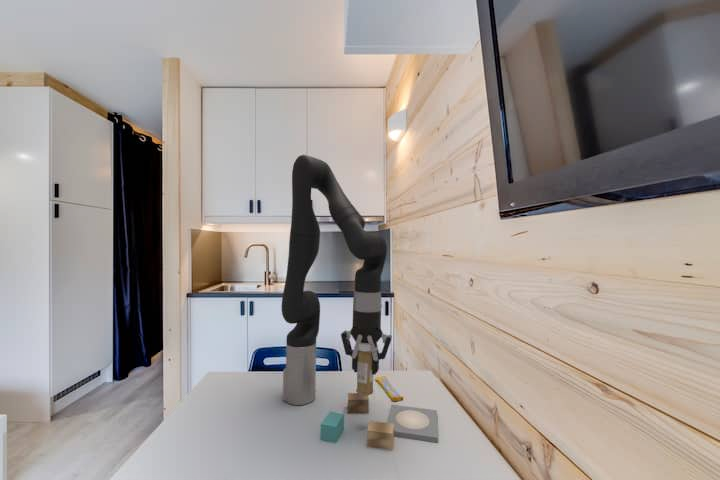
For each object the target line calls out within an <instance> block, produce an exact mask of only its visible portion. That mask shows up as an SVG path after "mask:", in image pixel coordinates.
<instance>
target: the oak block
mask: <svg viewBox="0 0 720 480" xmlns="http://www.w3.org/2000/svg"><path fill="white" fill-rule="evenodd" d="M366 431H367V432H366V433H367V434H366V435H367V437H366V438H367V441H366V442H367V443H366V445H367V446H366V447H368V448H375V449H379V450H380V449H382V450H387V451H388V450H389V451H393V447H394V442H395V436H394V424H390V423H387V422H380V421H374V420H369V424H368V427H367V430H366Z"/></svg>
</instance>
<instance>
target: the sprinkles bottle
mask: <svg viewBox="0 0 720 480" xmlns="http://www.w3.org/2000/svg"><path fill="white" fill-rule="evenodd" d="M372 348H373V347H372ZM372 366H373V355H372V352H371V349H370V345H369V343H362V342H361V343H360V344H359V349H358V360H357V372H356V393H358V394H359V395H362V396H368V397H369V396H371V395H372V394H374V375H372Z"/></svg>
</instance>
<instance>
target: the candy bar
mask: <svg viewBox="0 0 720 480" xmlns="http://www.w3.org/2000/svg"><path fill="white" fill-rule="evenodd" d="M374 379H375V380H376V382H377V384H378V385H379V386H380V388H382V390H383V391H384V393H385V394H386V395H387V396H388V398H389V399H390V400H391V402H398V401H403V400H404V396H401V395H400V394H399V392H397V390H396V389H395V388H394V387H393V386H392V384H391V383H390V382H389V380H388V378H387V376H385V375H384V376H383V375H381V376H376V377H374Z"/></svg>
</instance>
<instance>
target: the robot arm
mask: <svg viewBox="0 0 720 480" xmlns="http://www.w3.org/2000/svg"><path fill="white" fill-rule="evenodd" d="M293 163H294V164H293V165H292V171H291V173H292V174H291V191H292V193H291V195H292V199H291V201H292V202H291V205H292V206H291V221H290V222H291V223H290V230H289V231H290V233H289V241H288V242H289V243H288V259H287V260H288V261H287V267H286V277H285V281H284V286H283V287H284V288H283V293H282V297H281V298H282V299H281V315H282V318H283V319H284V321H285V322H286V323H288V324H291V325H292V324H296V325H295V326H294V327H293V328H292V329H291V330H290V331H288V333H287V335H286V340H285V341H286V342H285V343H286V345H285V347H286V349H285V350H286V353H285V355H286V356H285V357H286V358H285V368H283V372H282V374H283V375H282V401H283V402H286V403H287V404H290V405H293V406H303V405H307V404H311V403H312V402H313V401H314V400H315V399H316V385H317V384H316V379H317V378H316V377H317V375H316V371H317V369H316V367H317V337H318V335H319V331H320V320H321V319H320V318H321V303H320V299H319V297H318V295H317V293H315V291H311V290H304V289H305V283H306V278H307V276H308V273H309V271H310V269H311V267H312V266H313V264H314V262H316V261H315V260H316V258H317V256H318V254H319V249H320V240H321V228H320V225H319V222H318V219H317V216H316V214H315V211H314V208H313V204H312V189H315V190H318V191H319V192H320V193H321V194H322V195H323V197H325V198H326V201H327V203H328V205H327V206H328V211H329V215H330V217H331V219H332V220H333V222H334V223H335V225H336V226H337V227H338V229H339V230H340V231H341V232H342V234H343V238H344V240H345V243H346V245H347V247H348V250H349V252H350V253H351V254H352V255H353V256H354V257H355V258H357V259H359V260H361V261H363V264H362V266H361V267H360V268H359V269H357V270H356V271H355V274H354V290H353V291H354V293H353V298H352V300H353V301H352V326H351V329H350V330H348V331H347V330H343V331H342V333H340V337H341V341H342V345H343V349H344V353H345V355H346V356H350V357H351V360H352V361H351V369H352V370H353V372H354V373H357V360H358V349H359V344H360V343H361V342H362V343H369V345H370V349H371V352H372V355H373V366H372V375H373V376H375V375H376V374H378V371H379V368H380V360H385V358H386V356H387V353H388V351H389V347H390V344H391V342H392V338H393V337H392V335H391V334H385V333H383V330H382V325H381V324H382V323H381V322H382V307H383V306H382V305H383V304H382V294H381V293H382V292H381V289H382V283H381V282H382V273H383V270H384V266H385V262H386V259H387V253H388V248H387V246H388V245H387V242H386V240H385V238H384V237H383V236H382V235H381V234H377V233H372V232H371V233H369V232H366V231H365V230H366V229H365V227H366V222H365V219H364V218H363V217H362V215H361V214H360V212H359V211H358V210H357V209H356V207H355V206H354V205H353V203H351V200H349V198H348V197H347V195H346V194H345V192H344V191H343V188H342V187H341V185H340V184H339V181H338V179H337V178H336V176H335V174H334V172H333V171H332V170H333V169H331V166H330V165H329V164H328V163H327V162H326V161H323V160H321V159H319V158H317V157H313V156H310V155H306V154H301V155H299V156H297V158H296V159H295V161H294V162H293ZM351 337H352V339H353V340H354V341H355V345H354V348H353V349H352V343H351ZM380 339H382V343H383V347H382V349H381V352H380V351H379V347H378V342H379V341H380ZM372 347H373V348H372Z"/></svg>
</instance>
